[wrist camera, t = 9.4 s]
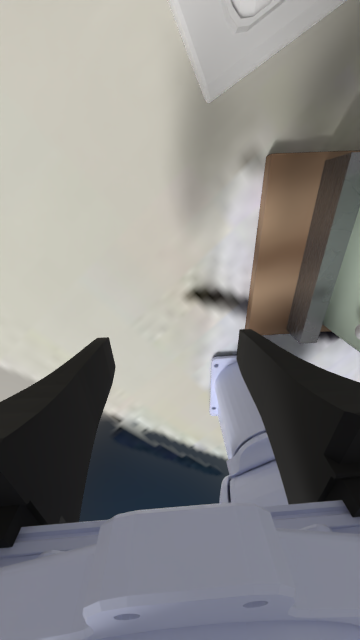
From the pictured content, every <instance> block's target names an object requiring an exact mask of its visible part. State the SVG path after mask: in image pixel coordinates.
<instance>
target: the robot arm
mask: <svg viewBox="0 0 360 640" xmlns="http://www.w3.org/2000/svg"><path fill="white" fill-rule="evenodd" d="M215 364H217V365H215ZM114 373H115V362H114V358H113V354H112V349H111V345H110V341H109V337H107V338H97V339H95V340H94V341H93V342H91V343H90V344H89V345H88V346H86V347H85V348H84V349H83V350H81V351H80V352H79V353H78V354H76V355H75V356H74V357H73V358H71V359H70V360H69V361H67V362H66V363H65V364H63V365H62V366H60V367H59V368H58V369H56V370H55V371H54V372H52V373H51V374H49V375H48V376H46V377H45V378H43V379H41V380H40V381H38V382H36V383H35V384H33V385H31V386H30V387H28V388H26V389H24V390H23V391H20V392H19V393H17V394H15V395H13V396H11V397H9V398H7V399H6V400H3V401H2V402H0V640H360V383H359V382H356V381H353V380H350V379H348V378H345V377H342V376H339V375H337V374H334V373H332V372H329V371H326V370H324V369H322V368H319V367H317V366H315V365H313V364H311V363H309V362H306V361H304V360H302V359H300V358H298V357H297V356H295V355H293V354H291V353H289V352H287V351H286V350H284V349H282V348H281V347H279V346H277V345H276V344H274V343H272V342H271V341H269V340H268V339H266V338H265V337H263V336H262V335H260V334H258V333H257V332H255V331H253V330H252V329H242V330H240V331H239V340H238V349H237V355H236V356H220V357H214V358H213V359H212V363H211V387H210V411H209V412H210V415H212V416H218V418H219V422H220V426H221V430H222V434H223V438H224V443H225V447H226V451H227V455H228V458H229V460H227V466H228V470H229V474H230V475H229V476H226V477H225V478H224V479H223V481H222V486H221V492H220V503H219V504H207V505H196V506H184V507H172V508H159V509H148V510H136V511H132V512H127V513H122V514H117V515H116V516H114V517H113V518H111V519H110V520H100V521H88V522H79V518H80V511H81V505H82V499H83V494H84V488H85V483H86V477H87V472H88V467H89V462H90V458H91V453H92V448H93V444H94V440H95V435H96V431H97V428H98V424H99V421H100V418H101V415H102V412H103V409H104V406H105V404H106V401H107V398H108V395H109V392H110V389H111V386H112V383H113V378H114Z"/></svg>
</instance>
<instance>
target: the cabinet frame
mask: <svg viewBox="0 0 360 640" xmlns="http://www.w3.org/2000/svg"><path fill="white" fill-rule="evenodd" d="M359 208H360V151H333V152H305V153H276V154H271V155H269V156H267V157H266V164H265V172H264V180H263V188H262V196H261V204H260V212H259V220H258V228H257V236H256V244H255V252H254V260H253V268H252V277H251V285H250V293H249V301H248V309H247V317H246V325H245V329H252V330H253V331H255V332H257V333H258V334H260V335H274V334H291V335H292V336H293V337H294V338H295V339H296V340H297V341H298V342H299V343H315V342H317V340H318V337H319V333H320V332H324V331H331V330H329V329H328V328H327V327H325V326H324V325H323V321H324V318H325V315H326V312H327V308H328V305H329V302H330V299H331V296H332V293H333V290H334V286H335V283H336V280H337V277H338V274H339V271H340V268H341V265H342V261H343V258H344V255H345V252H346V249H347V246H348V243H349V239H350V236H351V233H352V230H353V227H354V224H355V221H356V218H357V214H358V211H359Z"/></svg>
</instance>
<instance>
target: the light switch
mask: <svg viewBox="0 0 360 640" xmlns="http://www.w3.org/2000/svg"><path fill="white" fill-rule="evenodd" d="M167 1H168V4H169V6H170V9H171V12H172V14H173V17H174V20H175V22H176V25H177V28H178V30H179V33H180V36H181V38H182V41H183V44H184V46H185V49H186V52H187V54H188V57H189V60H190V62H191V65H192V67H193V70H194V73H195V75H196V78H197V81H198V83H199V86H200V89H201V91H202V94H203V97H204V99H205V101H206V102H207V103H210V102H212V101H213V100H214V99H216V98H217V97H218V96H220V95H221V94H222V93H224V92H225V91H226V90H228V89H229V88H230V87H232V86H233V85H234V84H236V83H237V82H239V81H240V80H241V79H243V78H244V77H245V76H247V75H248V74H249V73H251V72H252V71H253V70H255V69H256V68H257V67H259V66H260V65H261V64H263V63H264V62H265V61H267V60H268V59H269V58H271V57H272V56H273V55H275V54H276V53H277V52H279V51H280V50H281V49H283V48H284V47H285V46H287V45H288V44H289V43H291V42H292V41H293V40H295V39H296V38H297V37H299V36H300V35H301V34H303V33H304V32H305V31H307V30H308V29H309V28H311V27H312V26H314V25H315V24H316V23H318V22H319V21H320V20H322V19H323V18H324V17H326V16H327V15H328V14H330V13H331V12H332V11H334V10H335V9H336V8H338V7H339V6H340V5H342V4H343V3H344V2H346V1H347V0H167ZM248 17H249V18H248Z"/></svg>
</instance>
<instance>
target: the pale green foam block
mask: <svg viewBox="0 0 360 640" xmlns="http://www.w3.org/2000/svg"><path fill="white" fill-rule="evenodd" d="M323 325H324V326H325V327H327V328H328V329H329V330H331V331H332V332H333V333H335V334H336V335H337V336H339V337H340V338H341V339H343V340H344V341H345V342H347V343H348V344H349V345H351V346H352V347H353V348H355V349H356V350H357V351H359V352H360V208H359V211H358V214H357V218H356V221H355V224H354V227H353V230H352V233H351V236H350V239H349V243H348V246H347V249H346V252H345V255H344V258H343V261H342V265H341V268H340V271H339V274H338V277H337V280H336V283H335V286H334V290H333V293H332V296H331V299H330V302H329V305H328V308H327V312H326V315H325V318H324V321H323Z"/></svg>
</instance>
